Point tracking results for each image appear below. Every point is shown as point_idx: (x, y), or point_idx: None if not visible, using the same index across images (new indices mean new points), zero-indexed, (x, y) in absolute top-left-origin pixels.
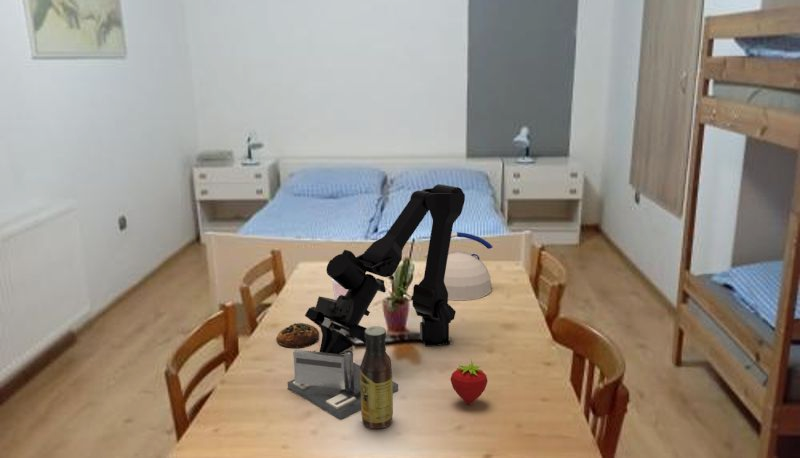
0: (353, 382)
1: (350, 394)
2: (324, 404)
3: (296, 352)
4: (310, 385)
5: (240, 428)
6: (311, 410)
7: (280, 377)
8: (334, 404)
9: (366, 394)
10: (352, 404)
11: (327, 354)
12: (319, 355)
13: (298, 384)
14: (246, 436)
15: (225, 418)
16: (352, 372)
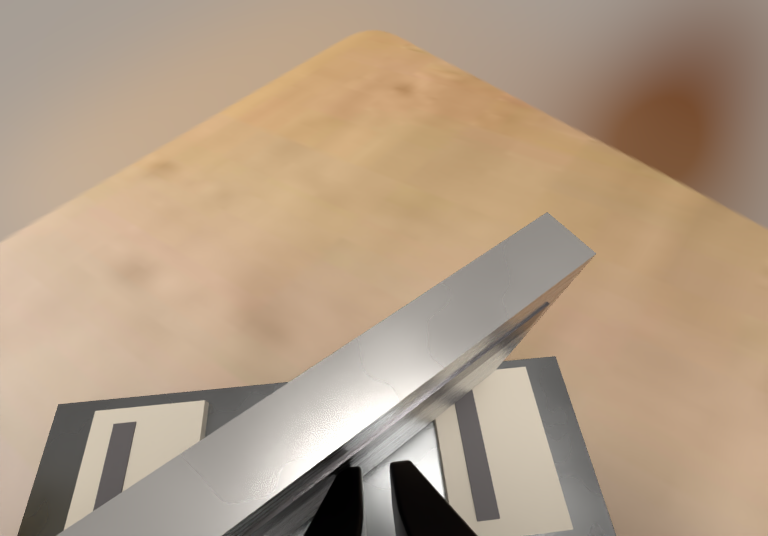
0: None
1: None
2: (210, 391)
3: (520, 232)
4: (437, 438)
5: (363, 127)
6: (275, 349)
7: (683, 399)
8: (131, 417)
9: None
10: (42, 528)
11: (191, 491)
12: (283, 392)
13: None
14: (309, 122)
15: (449, 121)
16: None
